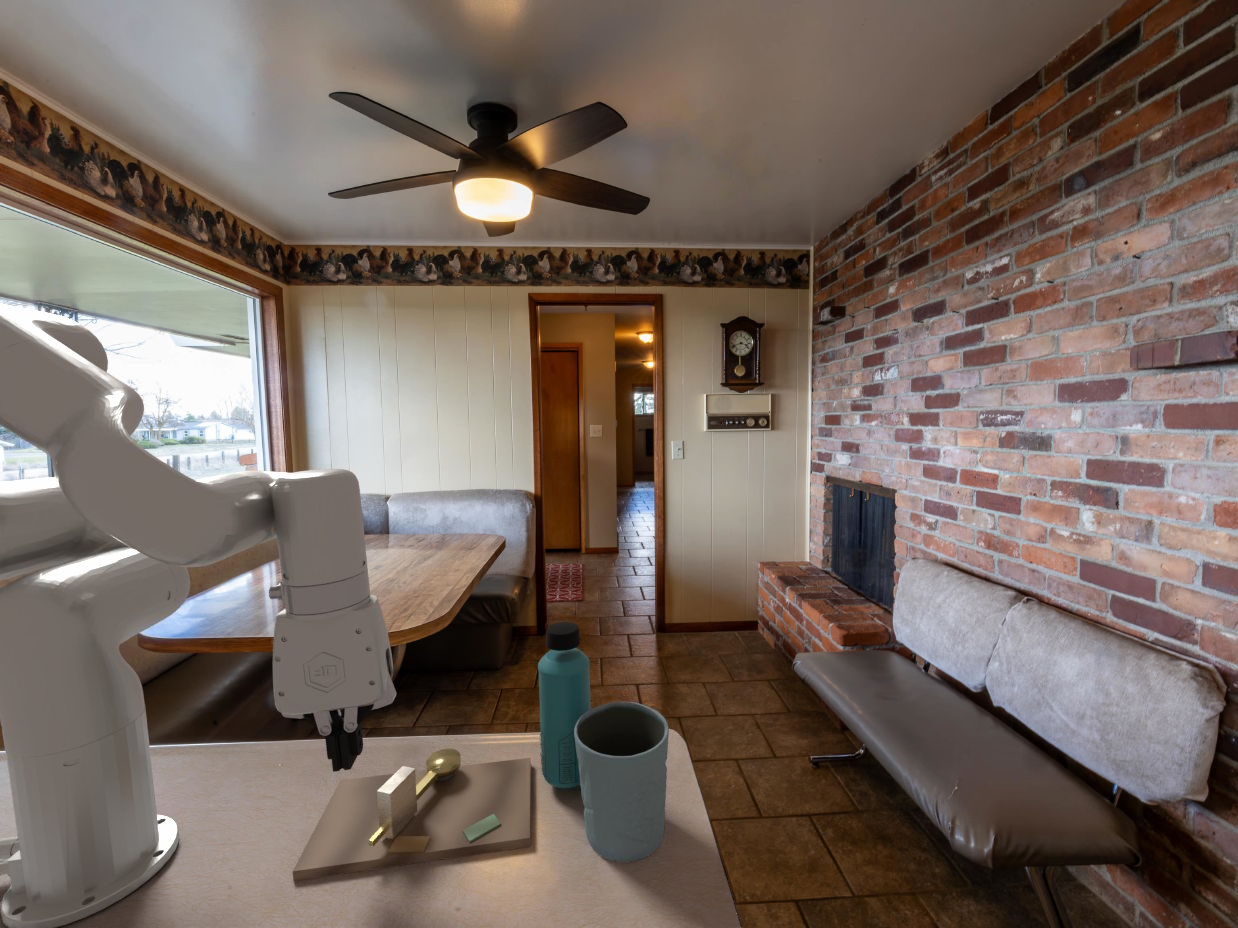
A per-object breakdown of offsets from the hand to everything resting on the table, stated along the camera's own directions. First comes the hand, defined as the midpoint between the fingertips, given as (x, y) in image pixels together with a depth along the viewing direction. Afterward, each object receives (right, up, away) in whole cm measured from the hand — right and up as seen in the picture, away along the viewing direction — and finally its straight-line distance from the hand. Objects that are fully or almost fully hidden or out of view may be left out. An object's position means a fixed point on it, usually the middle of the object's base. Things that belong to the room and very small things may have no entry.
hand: (346, 761), depth 55 cm
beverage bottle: (+22, -8, +10) cm, 26 cm away
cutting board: (+7, -9, +5) cm, 12 cm away
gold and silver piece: (+5, -8, +5) cm, 11 cm away
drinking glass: (+29, -9, +3) cm, 30 cm away
